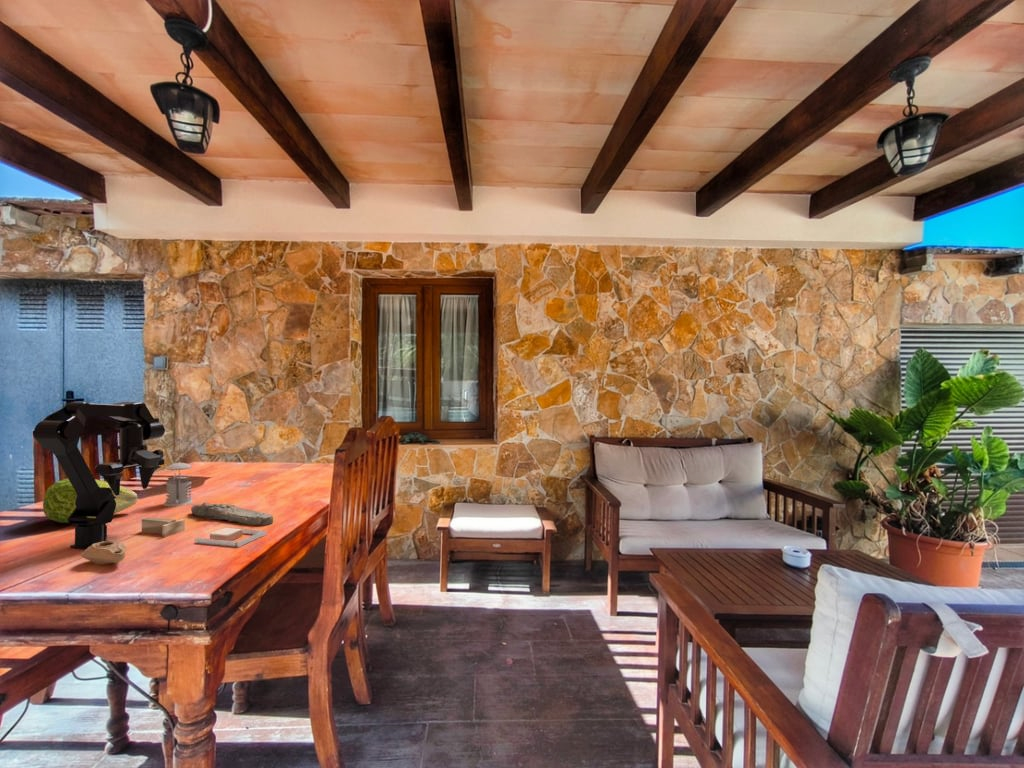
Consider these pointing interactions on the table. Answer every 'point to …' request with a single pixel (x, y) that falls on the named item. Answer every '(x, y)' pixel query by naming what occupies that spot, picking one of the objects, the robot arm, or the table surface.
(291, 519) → the table surface
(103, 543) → the pottery oil lamp
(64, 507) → the lettuce
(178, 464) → the french press
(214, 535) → the tile
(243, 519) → the elongated rock
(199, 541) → the bay
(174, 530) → the pusher
